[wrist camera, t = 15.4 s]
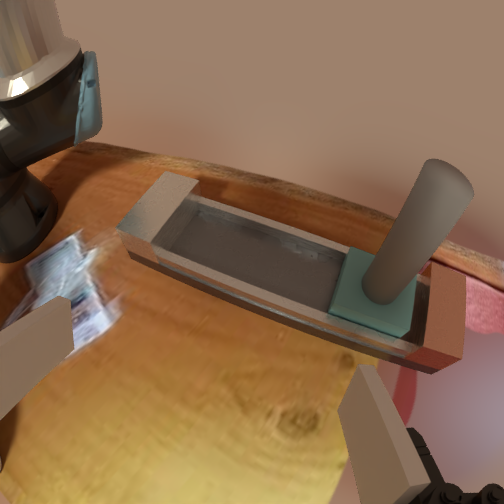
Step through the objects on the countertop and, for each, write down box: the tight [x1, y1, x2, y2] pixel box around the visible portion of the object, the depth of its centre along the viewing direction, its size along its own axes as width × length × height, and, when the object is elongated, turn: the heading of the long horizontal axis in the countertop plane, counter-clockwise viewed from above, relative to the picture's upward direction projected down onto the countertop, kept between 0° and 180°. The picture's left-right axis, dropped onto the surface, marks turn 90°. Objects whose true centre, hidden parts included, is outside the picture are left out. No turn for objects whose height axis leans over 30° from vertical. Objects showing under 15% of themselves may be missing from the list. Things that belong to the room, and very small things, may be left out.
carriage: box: [327, 159, 474, 339], centre depth 22 cm, size 8×7×17 cm
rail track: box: [116, 171, 466, 374], centre depth 30 cm, size 38×10×6 cm, turn 66°
